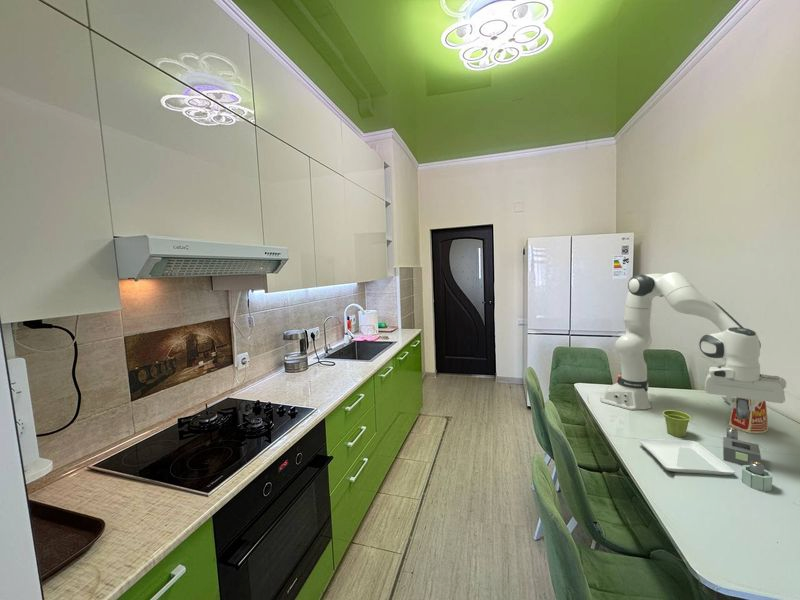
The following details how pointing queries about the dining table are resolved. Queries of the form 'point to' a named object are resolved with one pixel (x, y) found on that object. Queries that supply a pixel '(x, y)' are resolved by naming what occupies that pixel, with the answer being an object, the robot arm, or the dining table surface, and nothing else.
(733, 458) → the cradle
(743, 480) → the cup
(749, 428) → the milk carton
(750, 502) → the dining table surface
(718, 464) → the salad plate
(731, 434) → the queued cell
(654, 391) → the dining table surface
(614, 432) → the dining table surface
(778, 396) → the robot arm
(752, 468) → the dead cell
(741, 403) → the cell
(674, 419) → the plant pot
